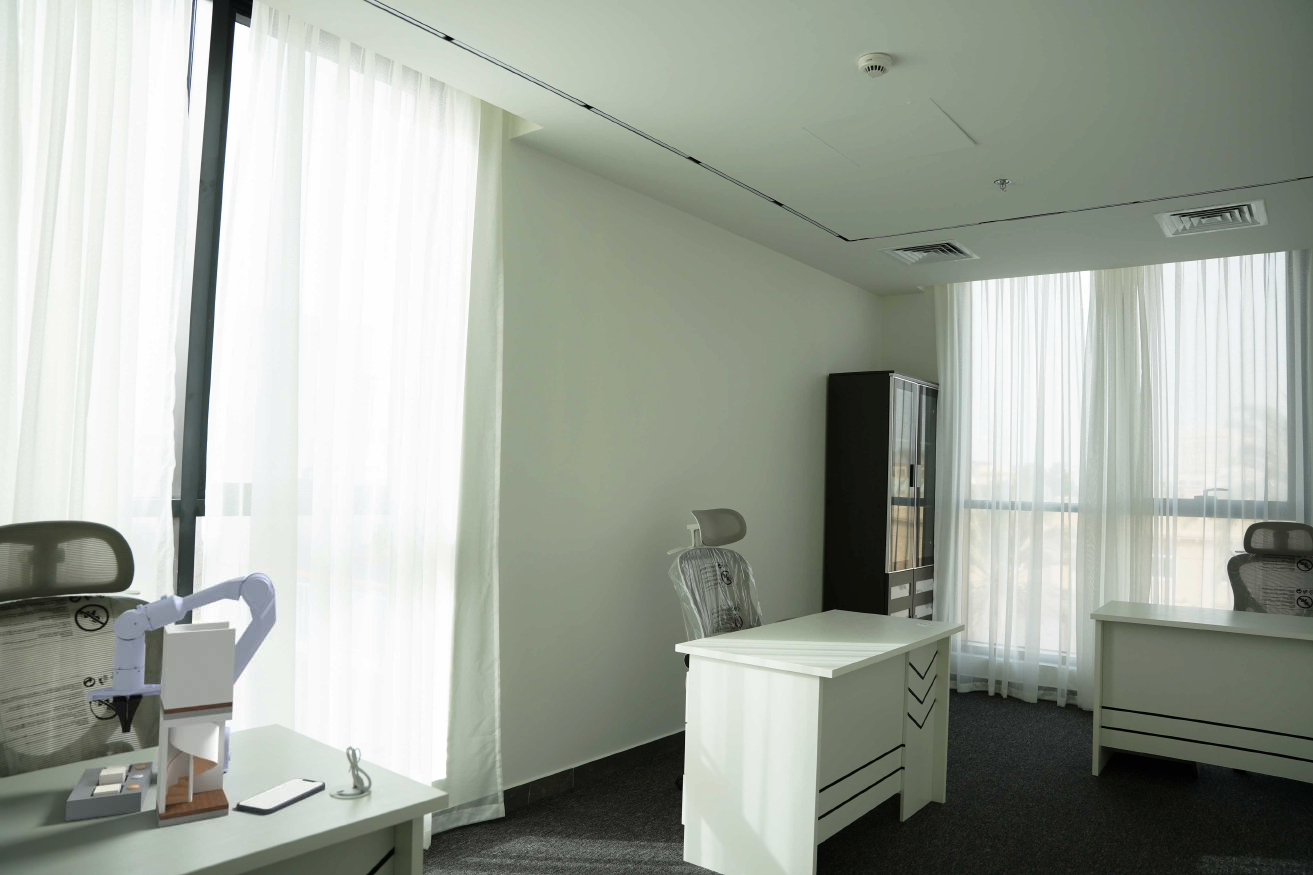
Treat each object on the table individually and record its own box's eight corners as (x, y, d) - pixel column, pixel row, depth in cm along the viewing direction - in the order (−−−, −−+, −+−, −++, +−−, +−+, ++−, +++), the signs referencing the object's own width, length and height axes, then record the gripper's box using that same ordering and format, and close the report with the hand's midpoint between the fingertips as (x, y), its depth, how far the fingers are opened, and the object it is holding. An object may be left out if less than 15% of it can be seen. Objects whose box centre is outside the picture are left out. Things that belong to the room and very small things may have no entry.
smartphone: (267, 819, 162) (328, 790, 177) (268, 810, 162) (328, 782, 177) (232, 812, 165) (295, 784, 180) (232, 804, 165) (295, 776, 180)
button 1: (120, 798, 167) (121, 783, 167) (117, 805, 163) (118, 789, 163) (96, 801, 165) (97, 786, 165) (92, 808, 161) (93, 792, 161)
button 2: (129, 778, 178) (129, 763, 178) (126, 784, 175) (127, 769, 175) (106, 780, 177) (107, 766, 177) (103, 787, 173) (104, 772, 173)
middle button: (125, 781, 173) (126, 766, 173) (122, 787, 169) (123, 772, 169) (102, 784, 171) (102, 769, 171) (98, 790, 167) (99, 775, 167)
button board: (151, 778, 181) (152, 760, 182) (140, 811, 163) (141, 790, 163) (84, 786, 176) (85, 767, 176) (65, 820, 158) (66, 800, 158)
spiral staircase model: (159, 827, 156) (167, 633, 158) (155, 808, 165) (164, 625, 167) (228, 814, 162) (235, 628, 164) (221, 797, 171) (228, 621, 173)
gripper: (86, 673, 176) (82, 740, 175) (167, 667, 182) (164, 732, 181) (90, 667, 182) (87, 731, 181) (169, 661, 188) (166, 723, 188)
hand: (126, 731), depth 182 cm, fingers closed
